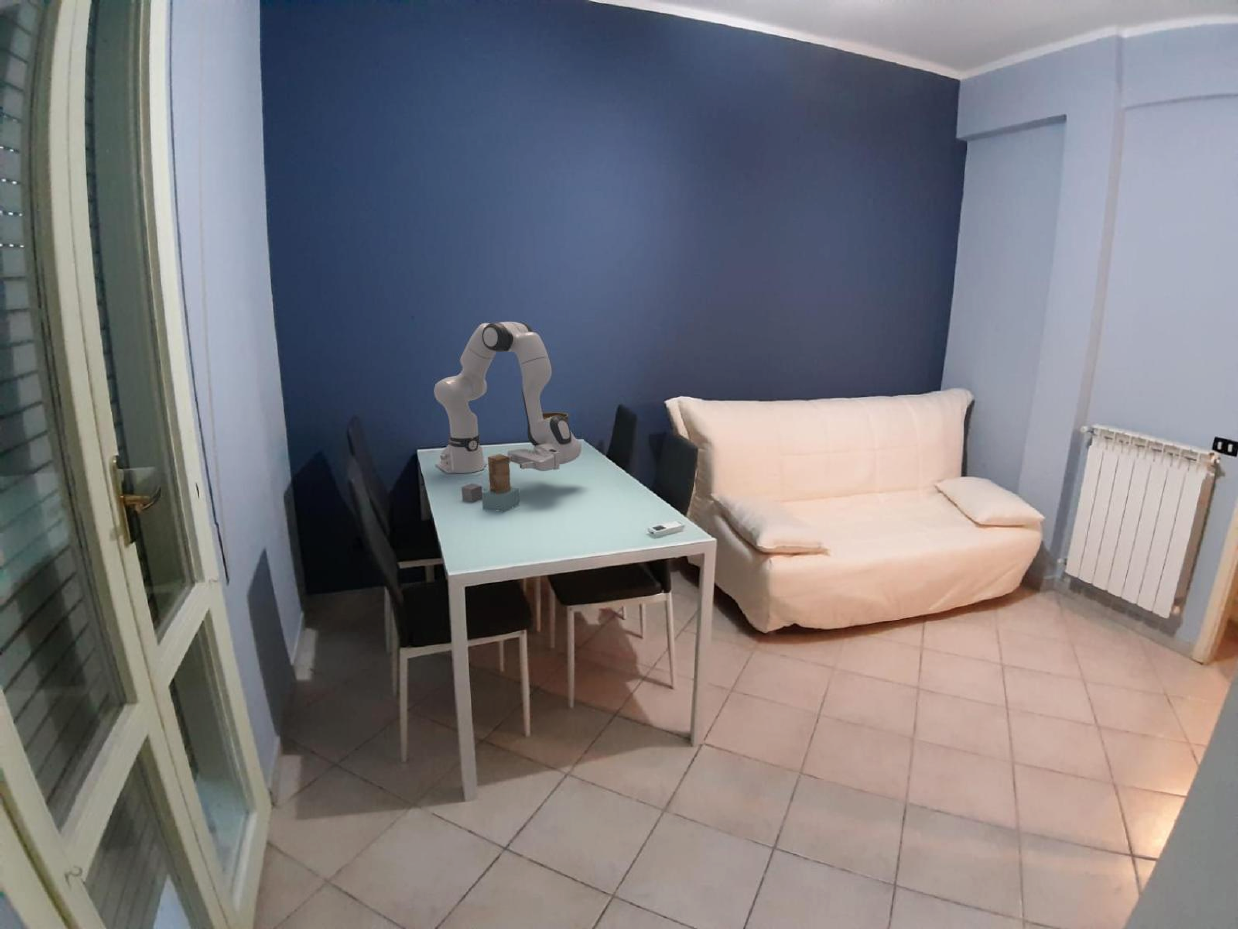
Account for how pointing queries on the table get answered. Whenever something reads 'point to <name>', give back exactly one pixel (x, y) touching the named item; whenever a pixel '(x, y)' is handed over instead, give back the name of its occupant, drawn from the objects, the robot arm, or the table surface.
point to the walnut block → (499, 473)
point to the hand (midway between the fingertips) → (512, 463)
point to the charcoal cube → (471, 492)
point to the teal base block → (500, 499)
